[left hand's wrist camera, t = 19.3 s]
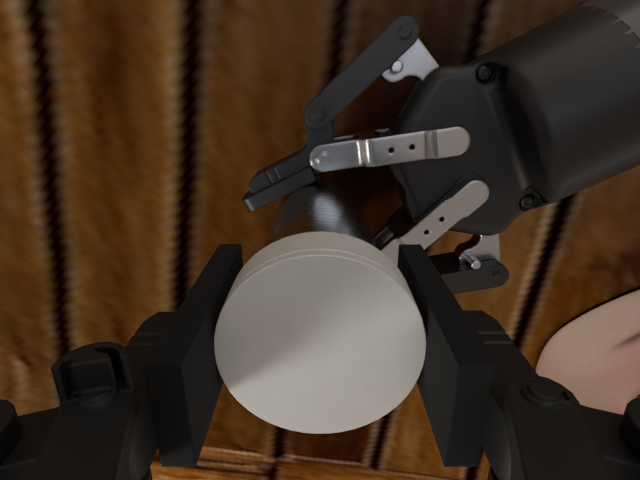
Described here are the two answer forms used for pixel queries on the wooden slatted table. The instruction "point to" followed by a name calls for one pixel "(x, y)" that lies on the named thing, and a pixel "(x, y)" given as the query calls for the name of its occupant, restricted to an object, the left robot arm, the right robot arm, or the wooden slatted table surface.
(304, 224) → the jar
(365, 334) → the lid
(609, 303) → the anatomical model
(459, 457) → the left robot arm
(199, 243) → the wooden slatted table surface
